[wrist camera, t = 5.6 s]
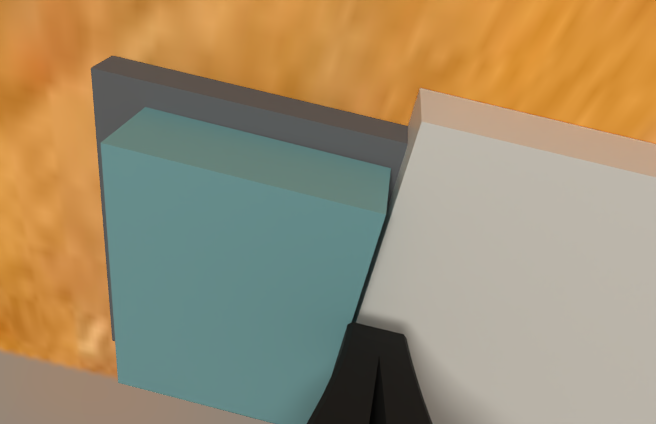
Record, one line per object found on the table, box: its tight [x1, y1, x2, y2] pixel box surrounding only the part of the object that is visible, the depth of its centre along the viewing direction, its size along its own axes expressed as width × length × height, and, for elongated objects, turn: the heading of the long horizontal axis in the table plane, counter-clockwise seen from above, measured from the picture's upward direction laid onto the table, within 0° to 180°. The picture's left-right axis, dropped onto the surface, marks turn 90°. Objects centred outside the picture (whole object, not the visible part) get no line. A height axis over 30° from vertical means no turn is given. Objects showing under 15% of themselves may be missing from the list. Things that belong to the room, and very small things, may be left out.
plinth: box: [352, 88, 656, 424], centre depth 14 cm, size 14×10×2 cm
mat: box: [91, 56, 408, 341], centre depth 15 cm, size 8×10×1 cm
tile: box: [101, 107, 391, 424], centre depth 13 cm, size 6×8×2 cm
